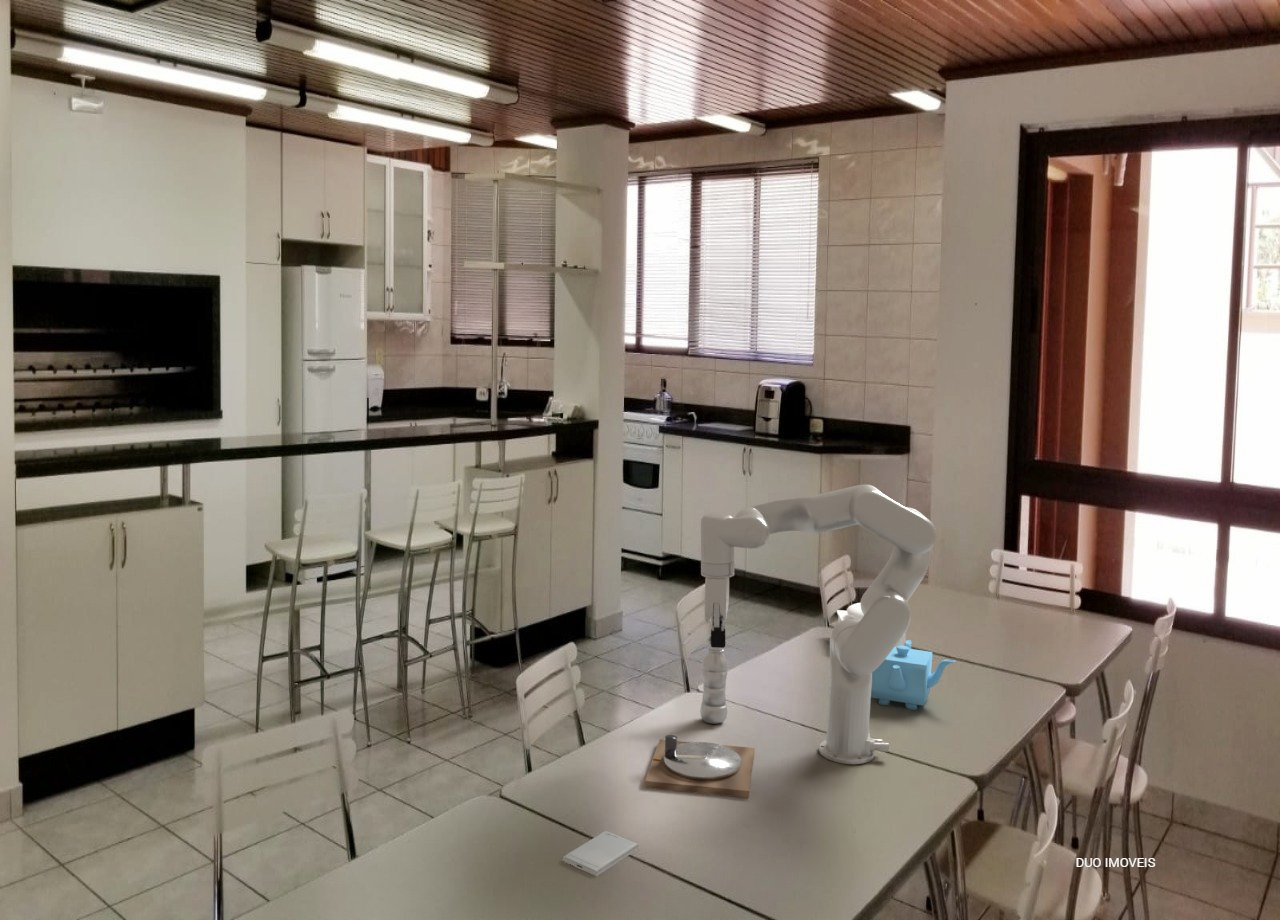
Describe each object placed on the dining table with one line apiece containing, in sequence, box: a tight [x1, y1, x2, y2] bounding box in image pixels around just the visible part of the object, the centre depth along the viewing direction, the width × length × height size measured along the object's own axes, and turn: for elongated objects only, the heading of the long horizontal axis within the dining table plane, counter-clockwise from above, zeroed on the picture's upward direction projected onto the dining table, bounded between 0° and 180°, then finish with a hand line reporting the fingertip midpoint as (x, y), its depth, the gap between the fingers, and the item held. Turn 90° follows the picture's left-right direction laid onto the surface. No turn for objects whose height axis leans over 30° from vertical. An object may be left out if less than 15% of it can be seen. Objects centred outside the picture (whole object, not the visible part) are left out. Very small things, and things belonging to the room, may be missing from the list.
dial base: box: [644, 739, 755, 799], centre depth 231 cm, size 22×22×2 cm
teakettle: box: [871, 639, 957, 711], centre depth 275 cm, size 19×19×15 cm
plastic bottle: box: [699, 641, 729, 725], centre depth 257 cm, size 6×7×20 cm
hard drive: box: [561, 830, 639, 877], centre depth 195 cm, size 2×8×12 cm
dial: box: [664, 734, 741, 780], centre depth 231 cm, size 17×17×6 cm
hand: (718, 646), depth 239 cm, fingers closed
